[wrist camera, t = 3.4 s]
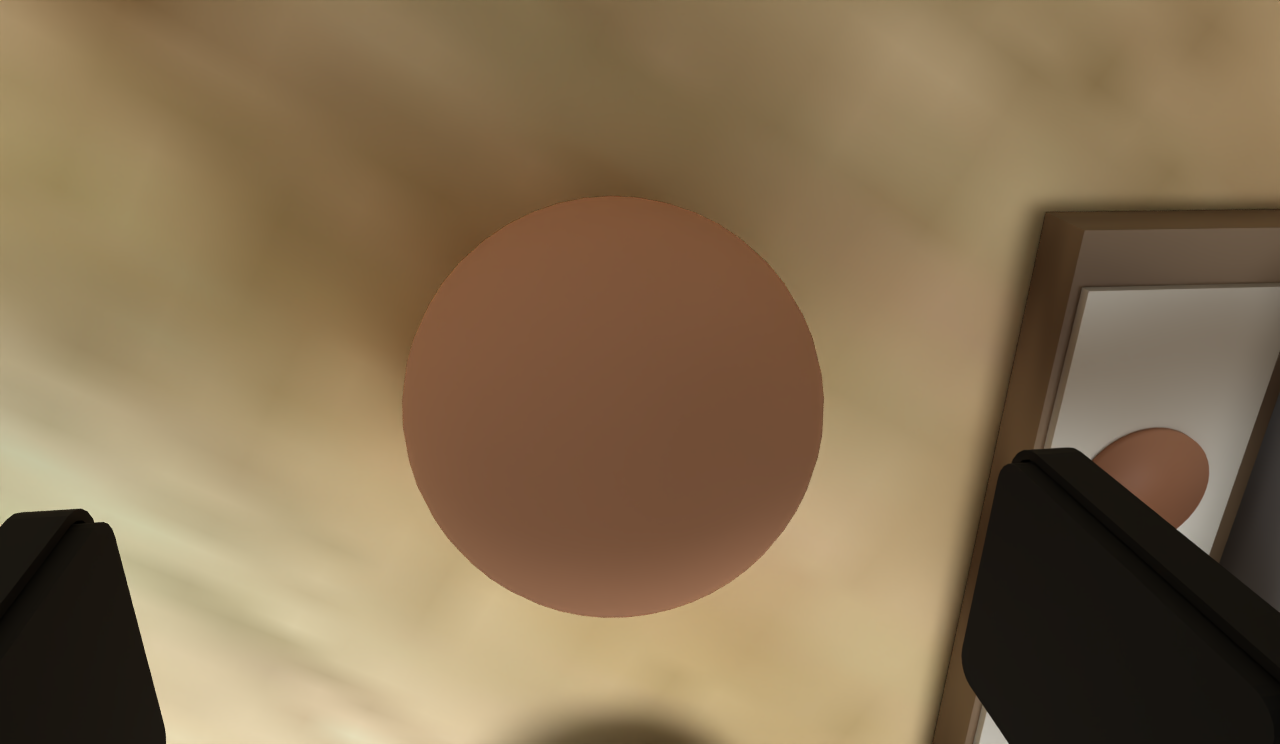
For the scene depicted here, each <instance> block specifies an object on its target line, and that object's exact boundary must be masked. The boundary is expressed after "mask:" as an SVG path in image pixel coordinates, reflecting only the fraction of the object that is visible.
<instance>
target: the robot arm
mask: <svg viewBox="0 0 1280 744" xmlns="http://www.w3.org/2000/svg"><path fill="white" fill-rule="evenodd" d="M961 658H962V667H963V671H964V674H965V677H966V680H967V682H968V684H969V685H970V687H971V689H972V690H973V692H974V693H975V694H976V696H977V697H978V699H979V700H980V702H981V703H982V705H983V706H984V708H985V709H986V711H987V712H988V714H989V715H990V717H991V718H992V720H993V721H994V723H995V724H996V726H997V727H998V729H999V730H1000V732H1001V733H1002V735H1003V736H1004V737H1005V739H1006V740H1007V742H1008V743H1009V744H1280V612H1278V611H1277V610H1276V609H1275V608H1273V607H1272V606H1271V605H1270V604H1268V603H1267V602H1266V601H1265V600H1264V599H1262V598H1261V597H1260V596H1259V595H1257V594H1256V593H1255V592H1254V591H1252V590H1251V589H1250V588H1249V587H1247V586H1246V585H1245V584H1244V583H1243V582H1241V581H1240V580H1239V579H1238V578H1236V577H1235V576H1234V575H1233V574H1231V573H1230V572H1229V571H1228V570H1226V569H1225V568H1224V567H1223V566H1222V565H1220V564H1219V563H1218V562H1217V561H1215V560H1214V559H1213V558H1212V557H1210V556H1209V555H1208V554H1207V553H1205V552H1204V551H1203V550H1202V549H1201V548H1199V547H1198V546H1197V545H1196V544H1194V543H1193V542H1192V541H1191V540H1189V539H1188V538H1187V537H1186V536H1184V535H1183V534H1182V533H1181V532H1180V531H1178V530H1177V529H1176V528H1175V527H1173V526H1172V525H1171V524H1170V523H1168V522H1167V521H1166V520H1165V519H1163V518H1162V517H1161V516H1160V515H1159V514H1157V513H1156V512H1155V511H1154V510H1152V509H1151V508H1150V507H1149V506H1147V505H1146V504H1145V503H1144V502H1142V501H1141V500H1140V499H1139V498H1138V497H1136V496H1135V495H1134V494H1133V493H1131V492H1130V491H1129V490H1128V489H1126V488H1125V487H1124V486H1123V485H1121V484H1120V483H1119V482H1118V481H1117V480H1115V479H1114V478H1113V477H1112V476H1110V475H1109V474H1108V473H1107V472H1105V471H1104V470H1103V469H1102V468H1100V467H1099V466H1098V465H1097V464H1096V463H1094V462H1093V461H1092V460H1091V459H1089V458H1088V457H1087V456H1086V455H1084V454H1083V453H1082V452H1081V451H1079V450H1077V449H1075V448H1070V447H1063V448H1047V449H1031V450H1022V451H1020V452H1019V453H1017V454H1016V456H1015V457H1014V458H1013V460H1012V463H1011V464H1007V465H1005V466H1003V468H1002V469H1001V470H1000V473H999V476H998V480H997V484H996V489H995V494H994V499H993V504H992V508H991V513H990V518H989V523H988V527H987V532H986V537H985V542H984V546H983V551H982V556H981V561H980V565H979V570H978V575H977V580H976V584H975V589H974V594H973V599H972V603H971V608H970V613H969V618H968V623H967V627H966V632H965V637H964V642H963V646H962V654H961ZM0 744H166V733H165V727H164V723H163V719H162V715H161V711H160V707H159V703H158V700H157V696H156V692H155V688H154V684H153V680H152V677H151V673H150V669H149V665H148V661H147V657H146V654H145V650H144V646H143V642H142V638H141V634H140V631H139V627H138V623H137V619H136V615H135V612H134V608H133V604H132V600H131V596H130V592H129V589H128V585H127V581H126V577H125V573H124V569H123V566H122V562H121V558H120V554H119V550H118V546H117V543H116V539H115V535H114V533H113V530H112V528H111V527H110V526H109V524H107V523H105V522H98V523H94V520H93V518H92V517H91V516H90V514H89V513H88V512H87V511H85V510H83V509H69V510H53V511H37V512H21V513H16V514H13V515H12V516H11V517H9V518H8V519H7V520H6V521H5V522H4V523H3V524H2V526H1V527H0Z"/></svg>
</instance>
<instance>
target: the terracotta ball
mask: <svg viewBox="0 0 1280 744" xmlns="http://www.w3.org/2000/svg"><path fill="white" fill-rule="evenodd" d="M823 403H824V396H823V386H822V375H821V370H820V366H819V362H818V358H817V354H816V350H815V346H814V342H813V338H812V336H811V333H810V331H809V328H808V326H807V324H806V321H805V319H804V316H803V314H802V313H801V311H800V309H799V307H798V306H797V304H796V302H795V301H794V299H793V297H792V296H791V294H790V292H789V291H788V289H787V287H786V286H785V284H784V283H783V281H782V280H781V279H780V278H779V276H778V275H777V274H776V273H775V272H774V270H773V269H772V268H771V267H770V265H769V264H768V263H767V262H766V261H765V260H764V259H763V258H761V257H760V256H759V255H758V254H757V253H756V252H755V251H754V250H753V249H752V248H750V247H749V246H748V245H747V244H746V243H745V242H744V241H742V240H741V239H740V238H738V237H737V236H736V235H734V234H733V233H731V232H730V231H728V230H727V229H725V228H724V227H722V226H721V225H719V224H717V223H715V222H713V221H711V220H709V219H707V218H705V217H703V216H701V215H699V214H697V213H695V212H692V211H689V210H686V209H683V208H680V207H677V206H674V205H671V204H668V203H664V202H659V201H654V200H649V199H643V198H638V197H621V196H603V197H589V198H581V199H576V200H571V201H566V202H562V203H557V204H554V205H551V206H548V207H545V208H543V209H540V210H537V211H534V212H531V213H529V214H527V215H525V216H523V217H521V218H519V219H517V220H515V221H513V222H511V223H509V224H507V225H506V226H504V227H503V228H502V229H500V230H499V231H497V232H496V233H494V234H493V235H491V236H490V237H488V238H487V239H485V240H484V241H483V242H482V243H481V244H479V245H478V246H477V247H476V248H475V249H474V250H473V251H472V252H470V253H469V254H468V255H467V256H466V257H465V258H464V259H463V260H462V261H460V263H459V264H458V265H457V266H456V267H455V269H454V270H453V271H452V272H451V273H450V274H449V276H448V277H447V278H446V279H445V280H444V281H443V283H442V285H441V286H440V288H439V289H438V291H437V292H436V294H435V296H434V297H433V299H432V300H431V302H430V303H429V305H428V308H427V310H426V312H425V314H424V316H423V318H422V321H421V323H420V325H419V327H418V330H417V332H416V334H415V336H414V339H413V343H412V346H411V350H410V353H409V357H408V360H407V365H406V373H405V381H404V389H403V399H402V408H403V429H404V435H405V440H406V446H407V451H408V457H409V462H410V465H411V468H412V471H413V474H414V477H415V480H416V483H417V486H418V488H419V490H420V492H421V494H422V496H423V498H424V500H425V502H426V504H427V506H428V508H429V510H430V512H431V513H432V515H433V517H434V519H435V521H436V522H437V524H438V525H439V526H440V528H441V529H442V531H443V532H444V533H445V535H446V536H447V538H448V539H449V540H450V541H451V542H452V543H453V544H454V545H455V546H456V547H457V549H458V550H459V551H460V552H461V553H462V554H463V555H464V556H465V557H466V558H467V559H468V560H469V561H470V562H471V563H472V564H473V565H474V566H475V567H477V568H478V569H479V570H480V571H482V572H483V573H484V574H485V575H486V576H488V577H489V578H490V579H492V580H493V581H495V582H497V583H498V584H500V585H501V586H503V587H505V588H506V589H508V590H509V591H511V592H513V593H516V594H518V595H520V596H522V597H524V598H526V599H529V600H531V601H533V602H535V603H537V604H539V605H543V606H546V607H549V608H552V609H555V610H558V611H562V612H567V613H572V614H577V615H581V616H592V617H603V618H607V617H632V616H640V615H648V614H653V613H657V612H662V611H666V610H670V609H673V608H676V607H679V606H682V605H685V604H688V603H691V602H693V601H696V600H698V599H700V598H702V597H704V596H706V595H709V594H711V593H713V592H714V591H716V590H718V589H719V588H721V587H723V586H725V585H726V584H728V583H730V582H731V581H732V580H734V579H735V578H736V577H738V576H739V575H740V574H742V573H743V572H744V571H746V570H747V569H748V568H749V567H751V566H752V565H753V564H754V563H755V562H756V561H757V560H758V559H759V558H760V557H761V556H762V555H763V554H764V553H765V552H766V551H767V550H768V549H769V547H770V546H771V545H772V544H773V543H774V541H775V540H776V539H777V538H778V537H779V535H780V534H781V533H782V532H783V530H784V529H785V528H786V526H787V524H788V523H789V521H790V520H791V518H792V517H793V515H794V514H795V512H796V511H797V509H798V507H799V505H800V503H801V501H802V499H803V497H804V494H805V492H806V490H807V487H808V485H809V482H810V479H811V476H812V473H813V470H814V467H815V464H816V461H817V458H818V453H819V448H820V443H821V438H822V426H823Z"/></svg>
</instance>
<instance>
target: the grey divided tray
mask: <svg viewBox="0 0 1280 744" xmlns="http://www.w3.org/2000/svg"><path fill="white" fill-rule="evenodd" d="M1063 447H1070V448H1075V449H1077V450H1079V451H1081V452H1082V453H1083V454H1084V455H1086V456H1087V457H1088V458H1089V459H1091V460H1092V461H1093V462H1094V463H1096V464H1097V465H1098V466H1099V467H1100V468H1102V469H1103V470H1104V471H1105V472H1107V473H1108V474H1109V475H1110V476H1112V477H1113V478H1114V479H1115V480H1117V481H1118V482H1119V483H1120V484H1121V485H1123V486H1124V487H1125V488H1126V489H1128V490H1129V491H1130V492H1131V493H1133V494H1134V495H1135V496H1136V497H1138V498H1139V499H1140V500H1141V501H1142V502H1144V503H1145V504H1146V505H1147V506H1149V507H1150V508H1151V509H1152V510H1154V511H1155V512H1156V513H1157V514H1159V515H1160V516H1161V517H1162V518H1163V519H1165V520H1166V521H1167V522H1168V523H1170V524H1171V525H1172V526H1173V527H1175V528H1176V529H1177V530H1178V531H1180V532H1181V533H1182V534H1183V535H1184V536H1186V537H1187V538H1188V539H1189V540H1191V541H1192V542H1193V543H1194V544H1196V545H1197V546H1198V547H1199V548H1201V549H1202V550H1203V551H1204V552H1205V553H1207V554H1208V555H1209V556H1210V557H1212V558H1213V559H1214V560H1215V561H1217V562H1218V563H1219V564H1220V565H1222V566H1223V567H1224V568H1225V569H1226V570H1228V571H1229V572H1230V573H1231V574H1233V575H1234V576H1235V577H1236V578H1238V579H1239V580H1240V581H1241V582H1243V583H1244V584H1245V585H1246V586H1247V587H1249V588H1250V589H1251V590H1252V591H1254V592H1255V593H1256V594H1257V595H1259V596H1260V597H1261V598H1262V599H1264V600H1265V601H1266V602H1267V603H1268V604H1270V605H1271V606H1272V607H1273V608H1275V609H1276V610H1277V611H1278V612H1280V209H1262V210H1181V211H1100V212H1046V214H1045V219H1044V223H1043V228H1042V233H1041V238H1040V242H1039V247H1038V252H1037V256H1036V261H1035V266H1034V270H1033V275H1032V280H1031V284H1030V289H1029V294H1028V298H1027V303H1026V308H1025V313H1024V317H1023V322H1022V327H1021V331H1020V336H1019V341H1018V345H1017V350H1016V355H1015V359H1014V364H1013V369H1012V373H1011V378H1010V383H1009V388H1008V392H1007V397H1006V402H1005V406H1004V411H1003V416H1002V420H1001V425H1000V430H999V434H998V439H997V444H996V448H995V453H994V458H993V463H992V467H991V472H990V477H989V481H988V486H987V491H986V495H985V500H984V505H983V509H982V514H981V519H980V523H979V528H978V533H977V538H976V542H975V547H974V552H973V556H972V561H971V566H970V570H969V575H968V580H967V584H966V589H965V594H964V598H963V603H962V608H961V613H960V617H959V622H958V627H957V631H956V636H955V641H954V645H953V650H952V655H951V659H950V664H949V669H948V673H947V678H946V683H945V688H944V692H943V697H942V702H941V706H940V711H939V716H938V720H937V725H936V730H935V734H934V739H933V744H1009V743H1008V742H1007V740H1006V739H1005V737H1004V736H1003V735H1002V733H1001V732H1000V730H999V729H998V727H997V726H996V724H995V723H994V721H993V720H992V718H991V717H990V715H989V714H988V712H987V711H986V709H985V708H984V706H983V705H982V703H981V702H980V700H979V699H978V697H977V696H976V694H975V693H974V692H973V690H972V689H971V687H970V685H969V684H968V682H967V680H966V677H965V674H964V671H963V667H962V658H961V654H962V646H963V642H964V637H965V632H966V627H967V623H968V618H969V613H970V608H971V603H972V599H973V594H974V589H975V584H976V580H977V575H978V570H979V565H980V561H981V556H982V551H983V546H984V542H985V537H986V532H987V527H988V523H989V518H990V513H991V508H992V504H993V499H994V494H995V489H996V484H997V480H998V476H999V473H1000V470H1001V469H1002V468H1003V466H1005V465H1007V464H1011V463H1012V460H1013V458H1014V457H1015V456H1016V454H1017V453H1019V452H1020V451H1022V450H1031V449H1047V448H1063Z"/></svg>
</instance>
